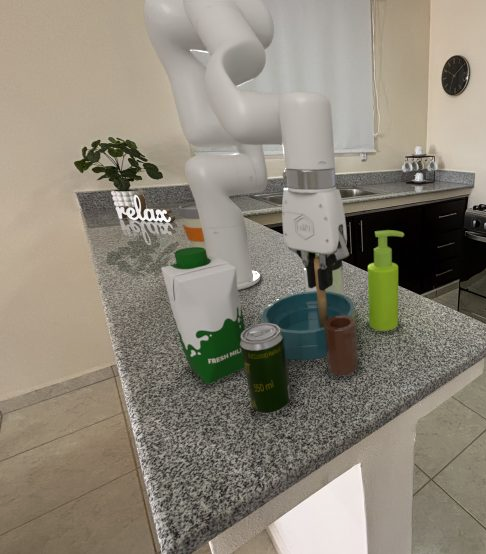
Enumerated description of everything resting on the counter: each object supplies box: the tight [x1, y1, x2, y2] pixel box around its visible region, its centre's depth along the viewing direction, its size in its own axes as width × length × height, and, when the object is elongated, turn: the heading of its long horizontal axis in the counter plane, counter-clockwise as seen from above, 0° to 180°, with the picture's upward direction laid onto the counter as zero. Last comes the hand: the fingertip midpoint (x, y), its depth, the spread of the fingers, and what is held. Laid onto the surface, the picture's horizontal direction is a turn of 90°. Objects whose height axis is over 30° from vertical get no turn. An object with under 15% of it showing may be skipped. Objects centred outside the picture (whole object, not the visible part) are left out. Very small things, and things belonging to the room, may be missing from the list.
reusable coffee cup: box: [178, 202, 208, 257], centre depth 111 cm, size 13×13×15 cm
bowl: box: [260, 291, 356, 361], centre depth 66 cm, size 17×17×6 cm
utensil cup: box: [324, 315, 358, 377], centre depth 57 cm, size 5×5×9 cm
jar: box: [303, 250, 346, 296], centre depth 79 cm, size 9×8×12 cm
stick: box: [314, 257, 328, 328], centre depth 63 cm, size 2×2×15 cm
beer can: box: [240, 323, 292, 415], centre depth 49 cm, size 5×5×12 cm
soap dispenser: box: [367, 229, 405, 332], centre depth 68 cm, size 6×7×20 cm
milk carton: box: [160, 246, 246, 385], centre depth 54 cm, size 9×9×20 cm
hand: (320, 285), depth 62 cm, fingers closed on stick, 1 cm apart
